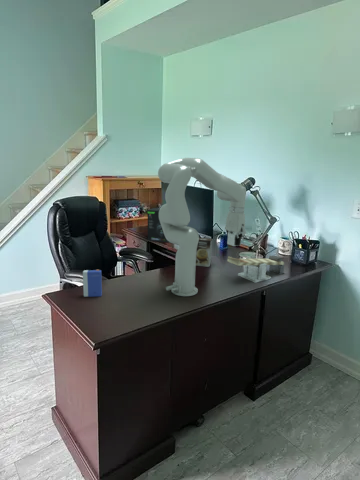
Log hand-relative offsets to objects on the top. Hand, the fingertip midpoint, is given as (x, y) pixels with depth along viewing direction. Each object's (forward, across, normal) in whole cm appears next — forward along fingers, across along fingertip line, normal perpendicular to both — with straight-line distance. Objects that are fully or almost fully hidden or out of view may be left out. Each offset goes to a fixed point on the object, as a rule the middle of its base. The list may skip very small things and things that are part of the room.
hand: (233, 243), depth 180 cm
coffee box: (+19, -25, 0) cm, 31 cm away
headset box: (+18, -88, +13) cm, 91 cm away
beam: (+11, +7, +12) cm, 18 cm away
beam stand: (+18, +7, +18) cm, 26 cm away
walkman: (+21, -15, -72) cm, 77 cm away
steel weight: (+1, 0, 0) cm, 1 cm away
